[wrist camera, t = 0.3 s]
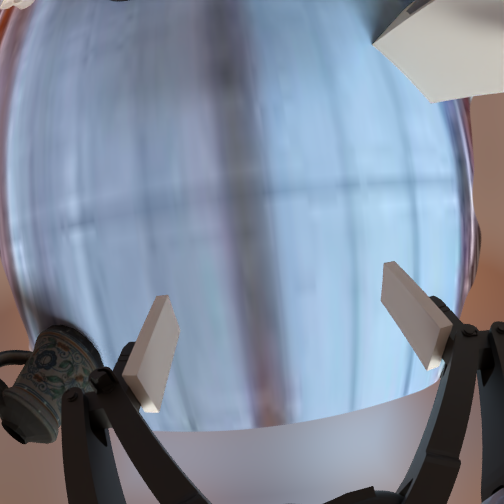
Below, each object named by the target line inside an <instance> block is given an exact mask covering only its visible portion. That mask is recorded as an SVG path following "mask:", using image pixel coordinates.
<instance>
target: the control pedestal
mask: <svg viewBox="0 0 504 504" xmlns="http://www.w3.org/2000/svg"><path fill="white" fill-rule="evenodd" d="M372 45H373V46H374V47H375V48H376V49H377V50H379V51H380V52H381V53H382V54H383V55H384V56H385V57H386V58H387V59H388V60H390V61H391V62H392V63H393V64H394V65H395V66H396V67H397V68H398V69H399V70H400V71H401V72H402V73H403V74H404V75H405V76H406V77H407V78H408V79H409V80H410V81H411V82H412V83H413V84H414V85H415V86H416V88H417V89H418V90H419V91H420V92H421V93H422V94H423V95H424V96H425V97H426V99H427V100H428V101H429V102H430V103H431V104H432V103H437V102H442V101H447V100H453V99H459V98H465V97H471V96H478V95H486V94H493V93H502V92H504V0H415V1H414V2H412V3H411V4H410V5H408V6H407V7H406V8H405V9H404V10H403V11H402V12H401V13H400V14H399V15H398V17H397V18H396V19H395V20H394V21H393V22H392V23H391V24H390V25H389V26H388V27H387V29H386V30H385V31H384V32H383V33H382V34H381V35H380V36H379V38H378V39H377V40H376V41H375V42H374V43H373V44H372Z"/></svg>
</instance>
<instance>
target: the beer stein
mask: <svg viewBox="0 0 504 504" xmlns="http://www.w3.org/2000/svg"><path fill="white" fill-rule="evenodd" d="M14 364H15V365H23V364H25V366H24V367H23V369H22V371H21V372H20V374H19V376H18V378H17V379H16V382H15V383H14V385H13V387H10V388H8V386H7V385H6V384H5V383H4V382H3V381H2V380H1V379H0V418H1V420H2V426H3V428H4V429H5V430H6V431H7V432H8V433H9V434H10V435H11V436H12V437H13V438H14V439H16V440H17V441H18V442H20V443H22V444H26V443H28V442H36V443H52V442H54V441H55V440H56V438H57V435H58V428H59V427H60V425H61V399H62V395H63V394H64V392H65V391H66V390H68V389H69V388H72V387H79V388H80V389H82V391H83V392H84V393H87V392H92V391H94V390H93V388H92V387H91V385H90V384H89V383H88V377H89V375H90V374H91V372H92V371H94V370H95V369H97V368H99V367H104V366H103V363H102V360H101V358H100V355H99V352H98V351H97V350H96V349H95V347H94V346H93V345H92V344H91V342H90V341H89V340H88V339H87V338H86V337H84V336H83V335H82V334H80V333H79V332H77V331H76V330H75V329H73V328H70V327H67V326H64V325H53V326H51V327H50V328H48V329H47V330H45V331H43V332H42V333H41V334H40V335H39V336H38V338H37V340H36V343H35V347H34V351H33V352H31V351H23V350H10V351H3V352H0V367H2V366H5V365H14Z"/></svg>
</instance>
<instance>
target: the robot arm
mask: <svg viewBox="0 0 504 504" xmlns="http://www.w3.org/2000/svg"><path fill="white" fill-rule="evenodd" d="M111 1H128V0H111ZM381 302H382V303H383V305H384V306H385V307H386V309H387V310H388V312H389V313H390V315H391V316H392V318H393V319H394V321H395V322H396V324H397V325H398V327H399V328H400V330H401V331H402V333H403V334H404V336H405V337H406V339H407V340H408V342H409V343H410V345H411V346H412V348H413V350H414V351H415V353H416V354H417V356H418V357H419V359H420V361H421V362H422V364H423V365H424V367H425V369H426V370H427V371H428V370H431V369H433V368H436V367H439V365H440V362H441V359H443V360H444V361H445V365H444V368H443V371H442V373H441V376H440V378H441V380H440V384H439V388H438V392H437V395H436V398H435V401H434V405H433V408H432V411H431V414H430V417H429V420H428V423H427V426H426V429H425V431H424V434H423V437H422V439H421V442H420V445H419V447H418V449H417V452H416V454H415V457H414V459H413V461H412V463H411V466H410V468H409V470H408V472H407V474H406V476H405V478H404V480H403V482H402V483H401V485H400V486H399V488H398V490H397V492H396V493H394V492H390V491H374V487H373V486H371V487H368V488H364V489H361V490H357V491H353V492H350V493H346V494H344V495H342V496H340V497H337V498H335V499H333V500H331V501H328V502H326V503H324V504H447V501H448V499H449V496H450V494H451V491H452V489H453V486H454V483H455V480H456V478H457V474H458V472H459V469H460V465H461V461H460V460H459V454H460V451H461V448H462V444H463V440H464V437H465V433H466V428H467V424H468V420H469V415H470V410H471V405H472V400H473V393H474V387H475V381H476V373H477V379H478V386H479V395H480V405H481V417H482V444H483V452H482V459H483V460H482V481H481V499H482V503H481V504H504V322H494V323H493V324H492V325H491V328H490V330H486V331H479V330H478V329H477V328H476V327H475V326H473V325H470V324H463V323H462V322H461V321H460V320H459V319H458V317H457V316H456V315H455V314H454V313H453V312H452V311H450V309H449V308H448V307H447V306H446V304H445V303H444V302H443V301H442V300H441V299H439V298H437V297H435V296H431V297H428V296H427V294H426V293H425V292H424V291H423V290H422V289H421V288H420V287H419V286H418V285H417V284H416V283H415V282H414V281H413V280H412V279H411V278H410V276H409V275H408V274H407V273H406V272H405V271H404V270H403V269H402V268H401V267H400V266H399V265H398V264H397V263H396V262H395V261H393V262H387V263H384V268H383V282H382V293H381ZM179 334H180V328H179V325H178V322H177V319H176V317H175V314H174V311H173V308H172V305H171V302H170V299H169V296H168V295H162V296H156V298H155V301H154V303H153V305H152V307H151V309H150V311H149V314H148V316H147V318H146V320H145V322H144V325H143V327H142V329H141V331H140V333H139V336H138V338H137V340H136V342H129V343H128V344H127V345H126V346H125V347H124V348H123V349H122V352H121V354H120V356H119V358H118V362H117V363H116V365H115V367H114V369H113V371H112V370H111V369H110V368H109V367H99V368H97V369H95V370H94V371H92V372H91V374H90V375H89V377H88V383H89V384H90V385H91V387H92V388H93V390H94V391H92V392H87V393H84V392H83V391H82V389H80V388H79V387H72V388H69V389H68V390H66V391H65V392H64V394H63V395H62V399H61V430H62V450H63V464H64V474H65V482H66V490H67V497H68V503H69V504H126V501H125V498H124V495H123V491H122V487H121V484H120V480H119V476H118V473H117V468H116V464H115V460H114V456H113V451H112V446H111V441H110V436H109V430H108V428H112V427H113V429H114V431H115V433H116V435H117V437H118V438H119V440H120V442H121V444H122V445H123V447H124V449H125V451H126V452H127V454H128V456H129V458H130V459H131V461H132V462H133V464H134V466H135V467H136V469H137V470H138V472H139V474H140V475H141V476H142V478H143V480H144V481H145V482H146V484H147V486H148V487H149V489H150V490H151V491H152V493H153V494H154V496H155V497H156V499H157V500H158V501H159V503H160V504H212V503H211V502H210V501H209V500H208V499H207V498H206V497H205V496H204V495H203V494H202V493H201V492H200V490H199V489H198V488H197V487H196V486H195V485H194V484H193V483H192V481H191V480H190V479H189V478H188V477H187V476H186V475H185V473H184V472H183V471H182V470H181V468H180V467H179V466H178V465H177V464H176V462H175V461H174V460H173V459H172V457H171V456H170V455H169V453H168V452H167V451H166V450H165V448H164V447H163V446H162V444H161V443H160V441H159V440H158V439H157V437H156V436H155V435H154V433H153V432H152V430H151V429H150V427H149V426H148V425H147V423H146V422H145V420H144V419H143V417H142V416H141V414H140V413H139V409H140V406H141V407H142V408H143V410H144V411H145V412H153V413H159V411H160V407H161V403H162V399H163V395H164V391H165V387H166V383H167V379H168V375H169V371H170V367H171V363H172V360H173V356H174V352H175V348H176V345H177V341H178V337H179Z"/></svg>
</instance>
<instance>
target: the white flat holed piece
mask: <svg viewBox="0 0 504 504" xmlns="http://www.w3.org/2000/svg"><path fill="white" fill-rule="evenodd" d="M34 1H35V0H3V2H2V4H1V6H0V9H7V8H9V7H11V6H13V5H14V6H16V7H18V8H20V9H25V8H27V7H28V6H30V5H31V4H32V3H33V2H34Z"/></svg>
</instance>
